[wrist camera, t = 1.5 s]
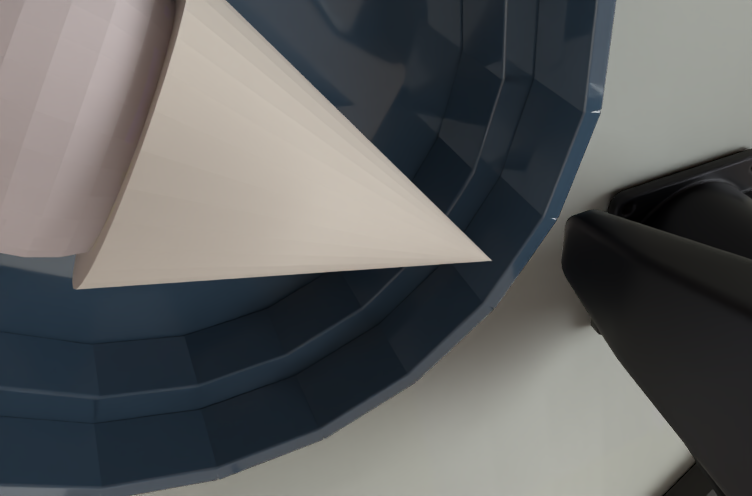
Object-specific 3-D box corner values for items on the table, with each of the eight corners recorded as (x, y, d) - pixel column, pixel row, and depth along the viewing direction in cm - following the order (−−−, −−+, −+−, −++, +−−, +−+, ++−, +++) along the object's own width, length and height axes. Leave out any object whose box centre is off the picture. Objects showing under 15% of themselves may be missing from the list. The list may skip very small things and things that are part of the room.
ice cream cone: (426, 192, 20) (-209, -62, 14) (589, 90, 16) (-277, -377, 9) (407, 407, 18) (-375, 222, 11) (593, 367, 13) (-594, 2, 7)
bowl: (517, -516, 13) (698, -593, 9) (492, 256, 24) (570, 345, 21) (-834, -477, 8) (-1395, -598, 5) (-90, 452, 19) (-110, 606, 16)
